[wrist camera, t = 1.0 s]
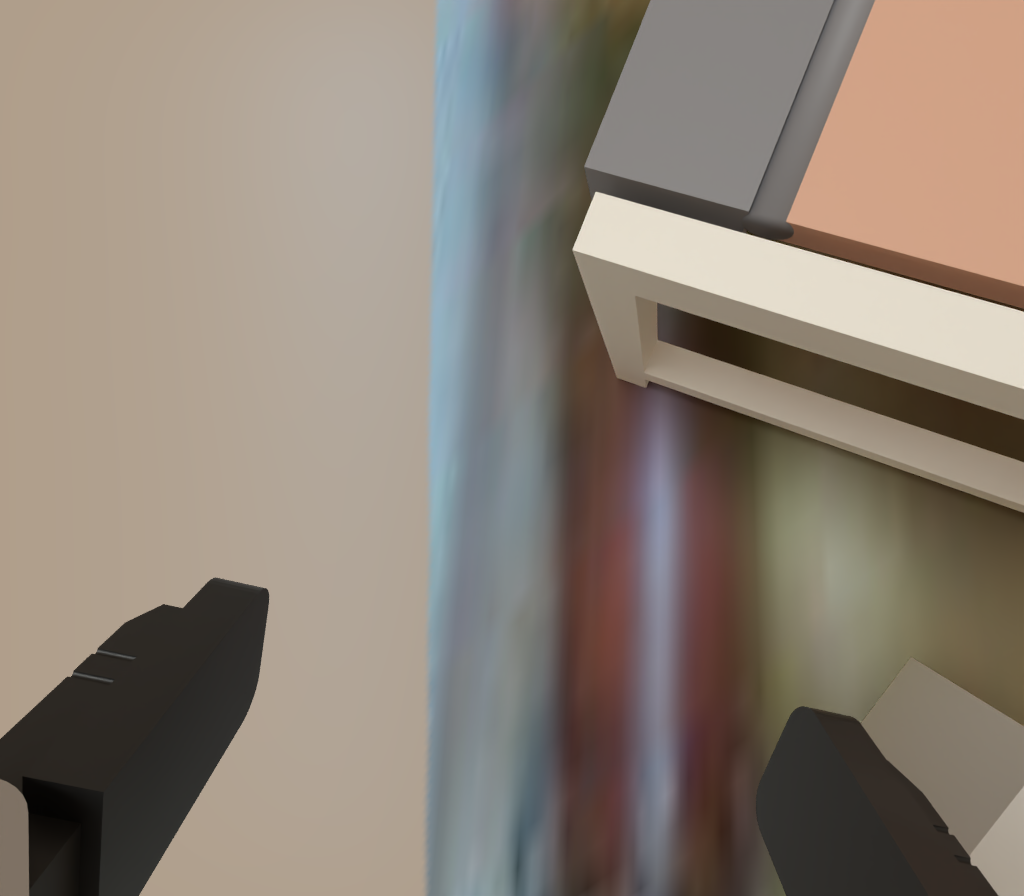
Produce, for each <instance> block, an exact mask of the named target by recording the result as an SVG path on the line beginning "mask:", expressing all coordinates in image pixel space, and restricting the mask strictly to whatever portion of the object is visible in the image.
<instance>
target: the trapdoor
mask: <svg viewBox="0 0 1024 896" xmlns="http://www.w3.org/2000/svg"><path fill="white" fill-rule="evenodd" d="M584 168H585V172H586V177H587V181H588V186H589V190H590V195H591V199H592V200H593V197H594V195H595V192H599V193H603V194H606V195H610V196H613V197H617V198H620V199H624V200H628V201H631V202H635V203H638V204H642V205H645V206H649V207H653V208H656V209H660V210H663V211H667V212H670V213H674V214H677V215H681V216H685V217H688V218H692V219H695V220H699V221H702V222H706V223H709V224H713V225H717V226H720V227H724V228H727V229H731V230H734V231H738V232H741V233H745V234H746V232H747V230H748V231H749V232H751V233H752V234H754V235H757V236H759V237H762V238H766V239H772V240H780V241H783V242H787V243H790V244H794V245H798V246H801V247H805V248H808V249H812V250H815V251H819V252H823V253H826V254H830V255H833V256H837V257H841V258H844V259H848V260H851V261H855V262H858V263H862V264H866V265H869V266H873V267H876V268H880V269H883V270H887V271H891V272H894V273H898V274H901V275H905V276H908V277H912V278H916V279H919V280H923V281H926V282H930V283H933V284H937V285H941V286H944V287H948V288H951V289H955V290H958V291H962V292H966V293H969V294H973V295H976V296H980V297H983V298H987V299H991V300H994V301H998V302H1001V303H1005V304H1008V305H1012V306H1016V307H1019V308H1023V309H1024V0H651V1H650V3H649V6H648V8H647V11H646V13H645V16H644V18H643V21H642V23H641V26H640V28H639V31H638V33H637V36H636V38H635V41H634V43H633V46H632V48H631V51H630V53H629V56H628V58H627V61H626V63H625V66H624V68H623V71H622V73H621V76H620V78H619V81H618V83H617V86H616V88H615V91H614V94H613V96H612V99H611V101H610V104H609V106H608V109H607V111H606V114H605V116H604V119H603V121H602V124H601V126H600V129H599V131H598V134H597V136H596V139H595V141H594V144H593V146H592V149H591V151H590V154H589V156H588V159H587V161H586V164H585V166H584Z"/></svg>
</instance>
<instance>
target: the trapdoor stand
mask: <svg viewBox="0 0 1024 896" xmlns="http://www.w3.org/2000/svg"><path fill="white" fill-rule="evenodd" d="M573 253H574V256H575V259H576V261H577V264H578V267H579V270H580V273H581V276H582V279H583V282H584V285H585V287H586V290H587V293H588V296H589V299H590V302H591V305H592V308H593V310H594V313H595V316H596V319H597V322H598V325H599V328H600V331H601V333H602V336H603V339H604V342H605V345H606V348H607V351H608V354H609V356H610V359H611V362H612V365H613V368H614V371H615V374H616V377H617V378H619V379H622V380H625V381H627V382H630V383H633V384H636V385H639V386H641V387H644V388H646V387H647V385H648V382H649V381H651V382H654V383H657V384H660V385H662V386H665V387H668V388H671V389H674V390H677V391H679V392H682V393H685V394H688V395H691V396H694V397H696V398H699V399H702V400H705V401H708V402H711V403H713V404H716V405H719V406H722V407H725V408H728V409H730V410H733V411H736V412H739V413H742V414H745V415H748V416H750V417H753V418H756V419H759V420H762V421H765V422H767V423H770V424H773V425H776V426H779V427H782V428H784V429H787V430H790V431H793V432H796V433H799V434H801V435H804V436H807V437H810V438H813V439H816V440H818V441H821V442H824V443H827V444H830V445H833V446H835V447H838V448H841V449H844V450H847V451H850V452H853V453H855V454H858V455H861V456H864V457H867V458H870V459H872V460H875V461H878V462H881V463H884V464H887V465H889V466H892V467H895V468H898V469H901V470H904V471H906V472H909V473H912V474H915V475H918V476H921V477H923V478H926V479H929V480H932V481H935V482H938V483H940V484H943V485H946V486H949V487H952V488H955V489H957V490H960V491H963V492H966V493H969V494H972V495H975V496H977V497H980V498H983V499H986V500H989V501H992V502H994V503H997V504H1000V505H1003V506H1006V507H1009V508H1011V509H1014V510H1017V511H1020V512H1023V513H1024V462H1021V461H1018V460H1015V459H1012V458H1009V457H1006V456H1003V455H1000V454H997V453H994V452H991V451H988V450H985V449H982V448H979V447H976V446H973V445H970V444H967V443H964V442H961V441H958V440H955V439H952V438H949V437H947V436H944V435H941V434H938V433H935V432H932V431H929V430H926V429H923V428H920V427H917V426H914V425H911V424H908V423H905V422H902V421H899V420H896V419H893V418H890V417H887V416H884V415H881V414H878V413H875V412H872V411H869V410H866V409H863V408H860V407H857V406H854V405H851V404H848V403H845V402H842V401H839V400H836V399H833V398H830V397H827V396H824V395H821V394H818V393H815V392H812V391H809V390H806V389H803V388H800V387H797V386H794V385H791V384H788V383H785V382H782V381H779V380H776V379H773V378H770V377H767V376H764V375H761V374H758V373H755V372H752V371H749V370H746V369H743V368H740V367H737V366H734V365H731V364H728V363H725V362H722V361H719V360H716V359H713V358H710V357H707V356H704V355H701V354H698V353H695V352H692V351H689V350H686V349H683V348H680V347H677V346H674V345H671V344H668V343H665V342H662V341H659V340H658V338H657V303H660V304H663V305H666V306H669V307H672V308H675V309H679V310H682V311H685V312H688V313H691V314H694V315H697V316H701V317H704V318H707V319H710V320H713V321H716V322H719V323H722V324H726V325H729V326H732V327H735V328H738V329H741V330H744V331H747V332H751V333H754V334H757V335H760V336H763V337H766V338H769V339H773V340H776V341H779V342H782V343H785V344H788V345H791V346H794V347H798V348H801V349H804V350H807V351H810V352H813V353H816V354H820V355H823V356H826V357H829V358H832V359H835V360H838V361H841V362H845V363H848V364H851V365H854V366H857V367H860V368H863V369H866V370H870V371H873V372H876V373H879V374H882V375H885V376H888V377H892V378H895V379H898V380H901V381H904V382H907V383H910V384H913V385H917V386H920V387H923V388H926V389H929V390H932V391H935V392H939V393H942V394H945V395H948V396H951V397H954V398H957V399H960V400H964V401H967V402H970V403H973V404H976V405H979V406H982V407H985V408H989V409H992V410H995V411H998V412H1001V413H1004V414H1007V415H1011V416H1014V417H1017V418H1020V419H1023V420H1024V312H1023V311H1019V310H1016V309H1012V308H1008V307H1005V306H1001V305H998V304H994V303H991V302H987V301H984V300H980V299H976V298H973V297H969V296H966V295H962V294H959V293H955V292H952V291H948V290H944V289H941V288H937V287H934V286H930V285H927V284H923V283H919V282H916V281H912V280H909V279H905V278H902V277H898V276H895V275H891V274H887V273H884V272H880V271H877V270H873V269H870V268H866V267H863V266H859V265H855V264H852V263H848V262H845V261H841V260H838V259H834V258H830V257H827V256H823V255H820V254H816V253H813V252H809V251H806V250H802V249H798V248H795V247H791V246H788V245H784V244H781V243H777V242H774V241H770V240H766V239H763V238H759V237H756V236H752V235H749V234H745V233H741V232H738V231H734V230H731V229H727V228H724V227H720V226H717V225H713V224H709V223H706V222H702V221H699V220H695V219H692V218H688V217H685V216H681V215H677V214H674V213H670V212H667V211H663V210H660V209H656V208H653V207H649V206H645V205H642V204H638V203H635V202H631V201H628V200H624V199H620V198H617V197H613V196H610V195H606V194H603V193H599V192H595V195H594V197H593V200H592V202H591V205H590V207H589V210H588V212H587V215H586V217H585V220H584V222H583V225H582V227H581V230H580V232H579V235H578V237H577V240H576V242H575V245H574V247H573Z"/></svg>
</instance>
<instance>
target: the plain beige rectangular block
mask: <svg viewBox="0 0 1024 896" xmlns="http://www.w3.org/2000/svg"><path fill="white" fill-rule="evenodd" d="M861 725H862V726H863V727H864V729H865V730H866V732H867V733H868V734H869V736H870V737H871V739H872V740H873V742H874V743H875V744H876V746H877V747H878V749H879V750H880V751H881V753H882V754H883V756H884V757H885V758H886V760H888V761H889V762H890V763H891V764H892V765H893V766H894V767H896V768H897V769H898V770H899V771H900V772H901V773H902V774H903V775H904V776H905V777H906V778H907V779H909V780H910V781H911V782H912V783H913V784H914V785H915V786H916V787H917V788H918V789H919V790H920V791H922V792H923V794H924V795H925V796H926V798H927V799H928V800H929V802H930V803H931V804H932V806H933V807H934V809H935V810H936V811H937V813H938V814H939V815H940V817H941V818H942V819H943V821H944V822H945V824H946V825H947V826H948V828H949V829H948V832H949V834H951V835H954V836H955V837H956V839H957V840H958V841H959V843H960V844H961V845H962V847H963V848H964V849H965V851H966V852H967V853H968V855H969V856H970V858H971V860H970V861H971V865H973V866H977V867H978V868H979V870H980V871H981V873H982V874H983V875H984V877H985V878H986V879H987V881H988V882H989V883H990V885H991V886H992V888H993V889H994V890H995V892H996V893H997V894H998V896H1024V726H1022V725H1021V724H1019V723H1017V722H1016V721H1014V720H1013V719H1011V718H1009V717H1008V716H1006V715H1005V714H1003V713H1001V712H1000V711H998V710H996V709H995V708H993V707H992V706H990V705H988V704H987V703H985V702H983V701H982V700H980V699H979V698H977V697H975V696H974V695H972V694H971V693H969V692H967V691H966V690H964V689H962V688H961V687H959V686H958V685H956V684H954V683H953V682H951V681H949V680H948V679H946V678H945V677H943V676H941V675H940V674H938V673H936V672H935V671H933V670H932V669H930V668H928V667H927V666H925V665H924V664H922V663H920V662H919V661H917V660H915V659H914V658H912V657H910V659H909V660H908V661H907V663H906V664H905V665H904V667H903V668H902V669H901V671H900V672H899V673H898V675H897V676H896V677H895V679H894V680H893V681H892V683H891V684H890V685H889V687H888V688H887V689H886V691H885V692H884V693H883V695H882V696H881V697H880V699H879V700H878V701H877V703H876V704H875V705H874V707H873V708H872V709H871V711H870V712H869V713H868V714H867V716H866V717H865V718H864V720H863V721H862V722H861Z"/></svg>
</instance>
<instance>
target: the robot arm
mask: <svg viewBox="0 0 1024 896" xmlns="http://www.w3.org/2000/svg"><path fill="white" fill-rule="evenodd" d="M268 605H269V592H268V590H267V589H266V588H261V587H257V586H252V585H248V584H243V583H238V582H234V581H229V580H224V579H220V578H213V579H211V580H210V581H209V582H208V583H207V584H206V585H205V586H204V587H203V588H202V589H201V590H200V591H199V592H198V593H197V594H196V595H195V596H194V597H193V598H192V599H191V600H190V601H189V602H188V603H187V604H186V606H185V607H184V608H179V607H174V606H169V605H165V604H163V605H161V606H159V607H157V608H155V609H153V610H151V611H149V612H147V613H145V614H142V615H140V616H138V617H136V618H134V619H132V620H130V621H128V622H126V623H125V624H123V625H122V626H121V627H120V628H119V629H118V630H117V631H116V632H115V633H114V634H113V635H112V636H110V638H108V639H107V640H106V641H105V642H104V643H103V644H102V645H101V646H100V647H99V648H98V650H97V652H96V654H91V655H90V656H89V657H88V658H87V659H86V660H85V661H84V662H83V663H81V664H80V665H79V666H78V667H77V668H76V669H75V670H74V672H73V675H72V676H71V677H67V678H65V679H64V680H63V681H62V682H61V683H60V684H59V685H58V686H57V687H56V688H55V689H54V690H52V691H51V692H50V693H49V694H48V695H47V696H46V697H45V698H44V699H43V700H42V701H41V702H40V703H39V704H38V705H36V706H35V707H34V708H33V709H32V710H31V711H30V712H29V713H28V714H27V715H26V716H25V717H23V718H22V720H20V721H19V722H18V723H17V724H16V725H15V726H14V727H13V728H12V729H11V730H10V731H9V732H7V733H6V734H5V735H4V736H3V737H2V738H1V739H0V896H139V894H140V893H141V891H142V889H143V888H144V886H145V884H146V883H147V881H148V879H149V878H150V876H151V874H152V873H153V871H154V869H155V868H156V866H157V864H158V863H159V861H160V859H161V858H162V856H163V854H164V853H165V851H166V849H167V848H168V846H169V844H170V843H171V841H172V839H173V838H174V836H175V834H176V833H177V831H178V829H179V827H180V826H181V824H182V823H183V821H184V819H185V817H186V816H187V814H188V812H189V811H190V809H191V808H192V806H193V804H194V803H195V801H196V799H197V797H198V796H199V794H200V793H201V791H202V789H203V788H204V786H205V784H206V782H207V781H208V779H209V777H210V776H211V774H212V773H213V771H214V769H215V767H216V766H217V764H218V762H219V761H220V759H221V758H222V756H223V754H224V753H225V751H226V749H227V748H228V746H229V744H230V743H231V741H232V739H233V738H234V736H235V734H236V732H237V730H238V729H239V727H240V726H241V724H242V722H243V721H244V719H245V717H246V715H247V712H248V710H249V708H250V705H251V702H252V699H253V697H254V694H255V690H256V687H257V683H258V678H259V672H260V665H261V657H262V650H263V642H264V635H265V628H266V620H267V613H268ZM756 814H757V821H758V825H759V829H760V832H761V834H762V837H763V839H764V842H765V844H766V847H767V849H768V851H769V854H770V856H771V859H772V861H773V864H774V866H775V869H776V871H777V874H778V876H779V879H780V881H781V884H782V886H783V889H784V891H785V893H786V896H998V894H997V893H996V892H995V890H994V889H993V888H992V886H991V885H990V883H989V882H988V881H987V879H986V878H985V877H984V875H983V874H982V873H981V871H980V870H979V868H978V867H977V866H973V865H971V861H970V860H971V858H970V856H969V855H968V853H967V852H966V851H965V849H964V848H963V847H962V845H961V844H960V843H959V841H958V840H957V839H956V837H955V836H954V835H951V834H949V832H948V829H949V828H948V826H947V825H946V824H945V822H944V821H943V819H942V818H941V817H940V815H939V814H938V813H937V811H936V810H935V809H934V807H933V806H932V804H931V803H930V802H929V800H928V799H927V798H926V796H925V795H924V794H923V792H922V791H920V790H919V789H918V788H917V787H916V786H915V785H914V784H913V783H912V782H911V781H910V780H909V779H907V778H906V777H905V776H904V775H903V774H902V773H901V772H900V771H899V770H898V769H897V768H896V767H894V766H893V765H892V764H891V763H890V762H889V761H888V760H886V758H885V757H884V756H883V754H882V753H881V751H880V750H879V749H878V747H877V746H876V744H875V743H874V742H873V740H872V739H871V737H870V736H869V734H868V733H867V732H866V730H865V729H864V727H863V726H862V725H861V724H860V722H859V721H857V720H856V719H855V718H853V717H850V716H846V715H841V714H836V713H832V712H827V711H823V710H818V709H813V708H809V707H804V706H802V707H799V708H797V709H795V710H794V711H793V712H792V714H791V715H790V717H789V719H788V721H787V723H786V726H785V728H784V730H783V732H782V734H781V737H780V739H779V741H778V743H777V745H776V748H775V750H774V752H773V754H772V756H771V758H770V761H769V763H768V765H767V767H766V769H765V772H764V774H763V776H762V778H761V780H760V783H759V786H758V790H757V796H756Z"/></svg>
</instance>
